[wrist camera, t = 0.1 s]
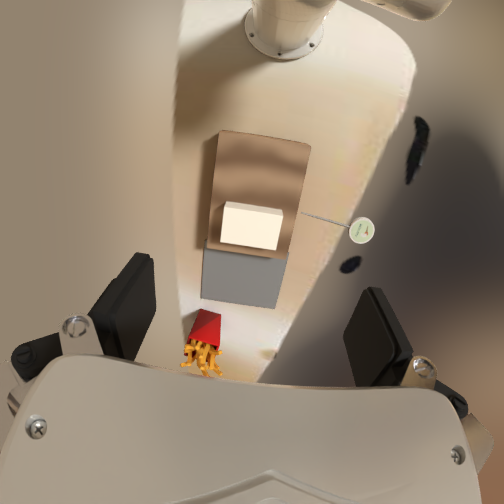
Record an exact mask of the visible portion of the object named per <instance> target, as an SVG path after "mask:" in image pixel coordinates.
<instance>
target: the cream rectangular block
mask: <svg viewBox="0 0 504 504" xmlns="http://www.w3.org/2000/svg"><path fill="white" fill-rule="evenodd" d="M282 219H283V212H282V210H280V209H274V208H268V207H262V206H256V205H249V204H242V203H236V202H229V201H226V204H225V206H224V213H223V222H222V231H221V240H220V242H224V243H230V244H237V245H244V246H250V247H257V248H263V249H270V250H276V247H277V243H278V238H279V233H280V229H281V224H282Z"/></svg>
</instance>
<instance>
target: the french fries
mask: <svg viewBox="0 0 504 504" xmlns="http://www.w3.org/2000/svg"><path fill="white" fill-rule="evenodd" d="M220 328H221V314H217V313H214V312H210V311H207V310H203V309H200V311H199V313H198V316H197V318H196V320H195V323H194V325H193V327H192V330H191V332H190V334H189V337H188V341H187V344H185V349H184V352H185V353H184V355H185V356H188V361H187V362H185V363H181V364H180V366H181V367H184V366H187V365H188V366H191V363H192V362H193V361H194V360H195V359H197V366H198V367H199V369H201V371H202V373H203V375H204V376H208V377H210V376H209V375H208V373H207V371H206V369H207V370H208V369H209V367H210V369H209V370H213V371H214V372H216V373H217V374H218V375H219V376H220V375H222V372H221V371H219V369H220V367H219V366H218V365H217V364H216V362H215V356H216V355H220V354H222V351H218V348H219V346H220ZM205 362H208V364H207V366H205Z"/></svg>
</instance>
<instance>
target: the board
mask: <svg viewBox="0 0 504 504" xmlns="http://www.w3.org/2000/svg"><path fill="white" fill-rule="evenodd" d="M310 150H311V146H310V145H308V144H305V143H301V142H296V141H291V140H285V139H280V138H274V137H268V136H262V135H255V134H249V133H241V132H234V131H225V130H222V131H220V132H219V138H218V145H217V153H216V161H215V170H214V179H213V188H212V197H211V207H210V217H209V228H208V240H207V248H211V249H217V250H224V251H230V252H237V253H244V254H250V255H257V256H264V257H270V258H277V259H284V260H286V257H287V253H288V249H289V245H290V241H291V236H292V232H293V228H294V223H295V219H296V215H297V210H298V206H299V201H300V197H301V192H302V188H303V183H304V179H305V174H306V169H307V164H308V160H309V155H310ZM226 201H229V202H236V203H242V204H249V205H256V206H262V207H268V208H274V209H280V210H282V212H283V219H282V224H281V229H280V233H279V238H278V243H277V247H276V250H270V249H263V248H257V247H250V246H244V245H237V244H230V243H224V242H220V240H221V231H222V222H223V213H224V206H225V204H226Z"/></svg>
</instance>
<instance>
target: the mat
mask: <svg viewBox="0 0 504 504" xmlns="http://www.w3.org/2000/svg"><path fill="white" fill-rule="evenodd" d="M288 255H289V252H288V253H287V257H286V260H284V259H277V258H270V257H264V256H257V255H250V254H244V253H237V252H230V251H224V250H217V249H211V248H207V240H205V247H204V260H203V276H202V293H201V298H203V299H209V300H215V301H221V302H228V303H235V304H241V305H248V306H256V307H263V308H271V309H275V306H276V302H277V299H278V295H279V291H280V287H281V283H282V279H283V275H284V271H285V267H286V263H287V259H288Z"/></svg>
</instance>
